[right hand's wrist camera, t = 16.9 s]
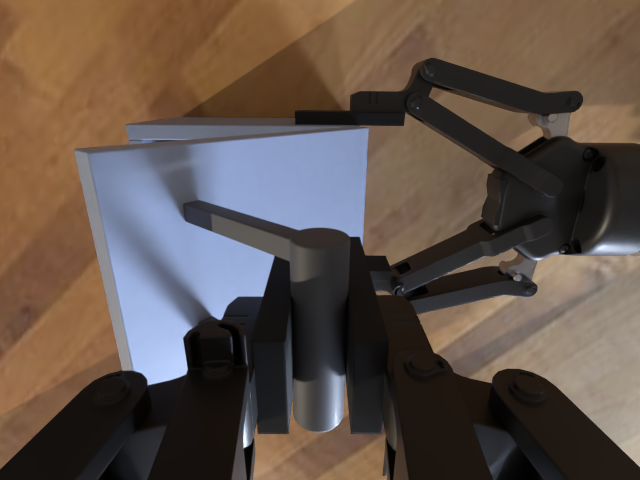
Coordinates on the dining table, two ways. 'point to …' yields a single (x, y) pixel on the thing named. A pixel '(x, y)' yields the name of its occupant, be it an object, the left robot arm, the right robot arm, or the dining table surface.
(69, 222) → the dining table surface
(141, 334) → the lid
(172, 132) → the chest
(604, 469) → the right robot arm
